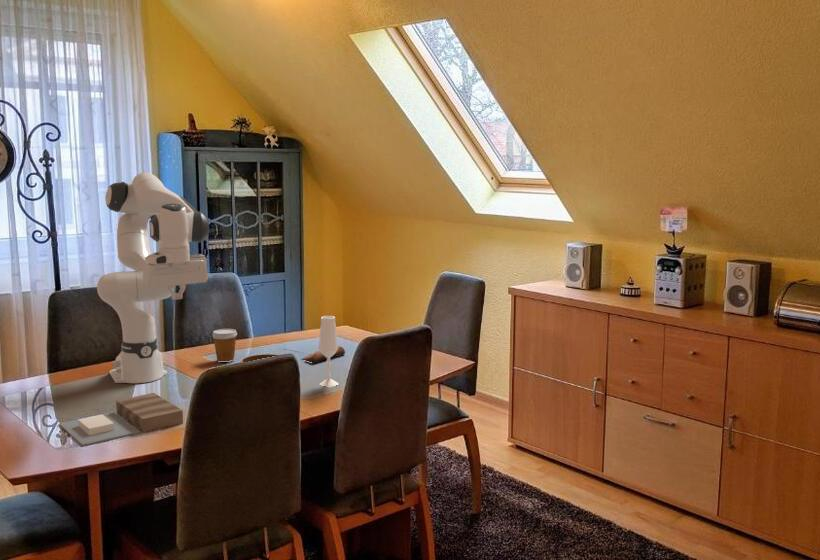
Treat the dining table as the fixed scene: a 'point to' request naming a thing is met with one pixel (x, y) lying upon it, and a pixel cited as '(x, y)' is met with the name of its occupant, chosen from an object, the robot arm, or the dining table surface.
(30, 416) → the dining table surface
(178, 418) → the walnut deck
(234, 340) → the disposable coffee cup
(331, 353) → the champagne flute
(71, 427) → the grey mat
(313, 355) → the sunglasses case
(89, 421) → the cream flat block
